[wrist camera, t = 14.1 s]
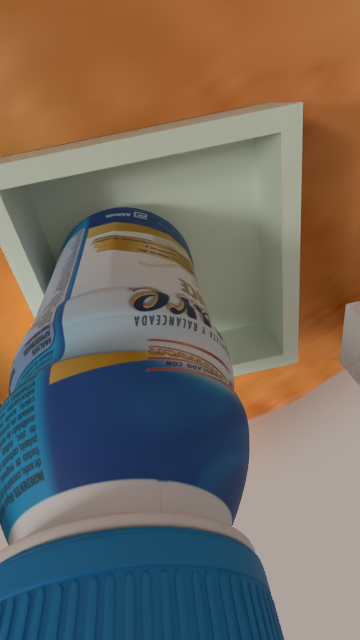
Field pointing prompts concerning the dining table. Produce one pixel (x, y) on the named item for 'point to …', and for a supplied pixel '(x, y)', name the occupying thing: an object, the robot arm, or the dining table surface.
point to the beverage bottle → (126, 453)
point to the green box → (181, 214)
